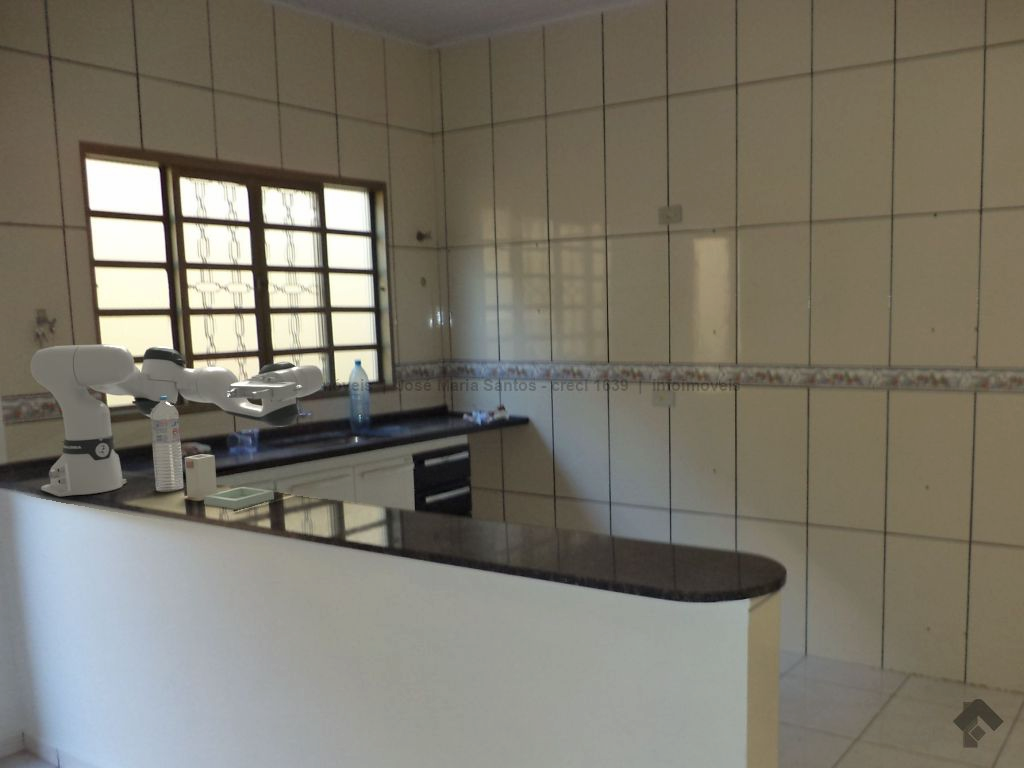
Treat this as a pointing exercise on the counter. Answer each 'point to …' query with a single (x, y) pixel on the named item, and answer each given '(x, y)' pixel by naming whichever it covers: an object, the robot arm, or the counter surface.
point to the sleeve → (200, 475)
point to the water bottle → (166, 447)
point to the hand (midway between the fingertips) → (241, 395)
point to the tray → (239, 498)
